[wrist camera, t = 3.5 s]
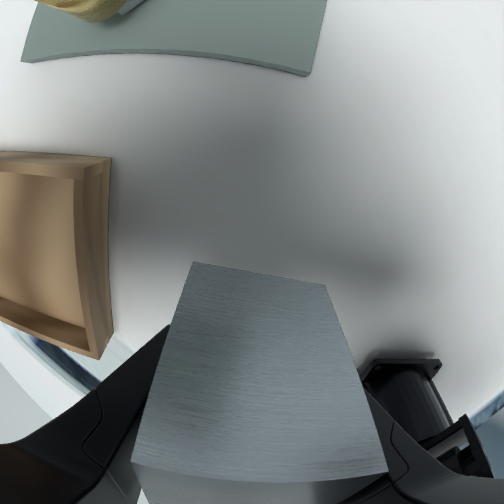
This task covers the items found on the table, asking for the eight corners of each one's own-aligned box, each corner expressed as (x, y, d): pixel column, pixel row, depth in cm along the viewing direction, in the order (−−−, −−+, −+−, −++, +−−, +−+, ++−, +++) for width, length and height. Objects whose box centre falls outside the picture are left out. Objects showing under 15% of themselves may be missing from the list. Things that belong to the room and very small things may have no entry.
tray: (111, 158, 12) (84, 168, 9) (113, 332, 16) (99, 360, 14) (-19, 151, 11) (-46, 160, 8) (0, 292, 15) (-18, 311, 13)
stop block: (324, 285, 9) (388, 471, 3) (288, 371, 10) (305, 519, 5) (193, 261, 8) (130, 461, 3) (183, 355, 10) (151, 508, 5)
